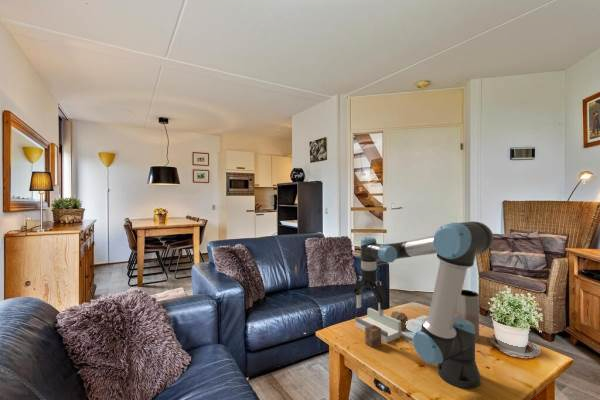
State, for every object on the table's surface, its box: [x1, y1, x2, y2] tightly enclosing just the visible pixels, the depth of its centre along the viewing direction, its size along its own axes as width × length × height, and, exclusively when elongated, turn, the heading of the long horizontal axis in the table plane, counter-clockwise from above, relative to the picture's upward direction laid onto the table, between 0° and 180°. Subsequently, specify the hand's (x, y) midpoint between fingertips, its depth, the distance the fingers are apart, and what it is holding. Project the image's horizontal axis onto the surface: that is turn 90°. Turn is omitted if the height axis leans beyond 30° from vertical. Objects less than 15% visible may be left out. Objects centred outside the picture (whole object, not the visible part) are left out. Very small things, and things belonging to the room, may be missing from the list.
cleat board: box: [354, 307, 402, 344], centre depth 155 cm, size 22×12×8 cm, turn 32°
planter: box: [456, 289, 480, 342], centre depth 147 cm, size 10×10×23 cm
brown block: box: [364, 325, 382, 349], centre depth 141 cm, size 5×7×8 cm
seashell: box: [390, 311, 409, 331], centre depth 161 cm, size 10×9×10 cm
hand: (369, 311), depth 142 cm, fingers open, 13 cm apart
